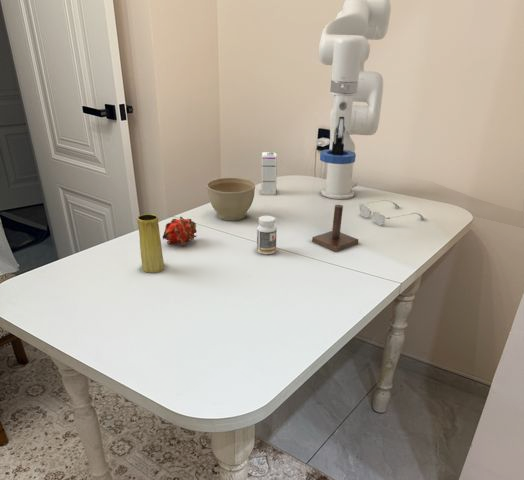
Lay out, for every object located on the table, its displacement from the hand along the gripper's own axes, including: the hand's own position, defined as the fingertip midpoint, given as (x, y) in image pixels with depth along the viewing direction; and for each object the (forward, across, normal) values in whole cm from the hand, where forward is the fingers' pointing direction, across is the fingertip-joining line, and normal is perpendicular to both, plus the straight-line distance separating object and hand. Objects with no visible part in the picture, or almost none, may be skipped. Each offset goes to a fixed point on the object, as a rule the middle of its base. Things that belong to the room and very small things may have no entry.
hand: (336, 156), depth 149 cm
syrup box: (+22, +36, +23) cm, 49 cm away
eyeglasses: (+23, +15, -22) cm, 35 cm away
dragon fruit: (+23, -19, +45) cm, 54 cm away
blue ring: (0, -4, 0) cm, 4 cm away
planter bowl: (+23, +7, +33) cm, 41 cm away
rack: (+23, -12, -1) cm, 26 cm away
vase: (+24, -36, +49) cm, 65 cm away
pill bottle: (+23, -21, +19) cm, 37 cm away
